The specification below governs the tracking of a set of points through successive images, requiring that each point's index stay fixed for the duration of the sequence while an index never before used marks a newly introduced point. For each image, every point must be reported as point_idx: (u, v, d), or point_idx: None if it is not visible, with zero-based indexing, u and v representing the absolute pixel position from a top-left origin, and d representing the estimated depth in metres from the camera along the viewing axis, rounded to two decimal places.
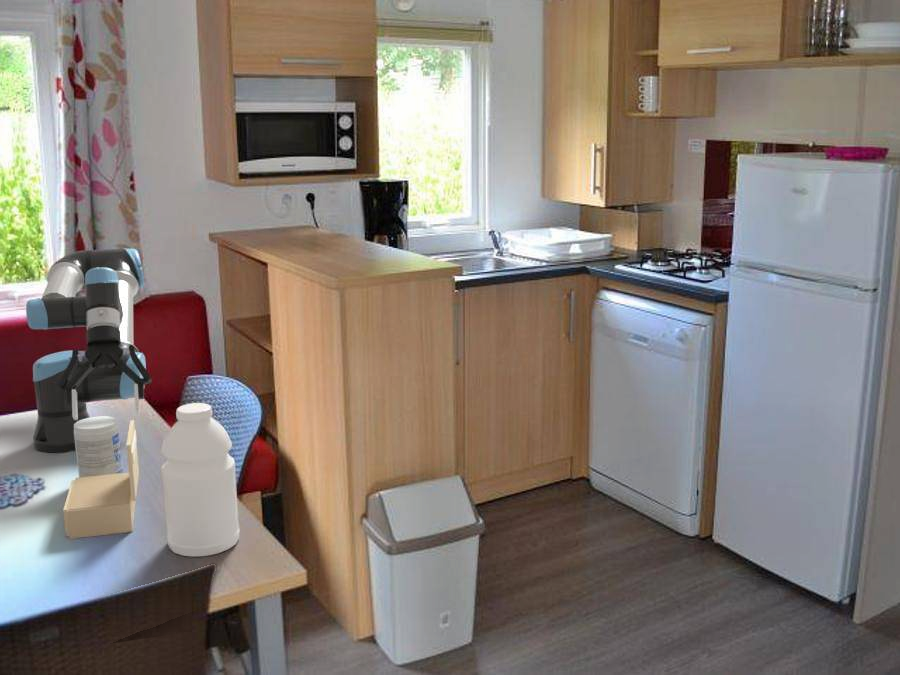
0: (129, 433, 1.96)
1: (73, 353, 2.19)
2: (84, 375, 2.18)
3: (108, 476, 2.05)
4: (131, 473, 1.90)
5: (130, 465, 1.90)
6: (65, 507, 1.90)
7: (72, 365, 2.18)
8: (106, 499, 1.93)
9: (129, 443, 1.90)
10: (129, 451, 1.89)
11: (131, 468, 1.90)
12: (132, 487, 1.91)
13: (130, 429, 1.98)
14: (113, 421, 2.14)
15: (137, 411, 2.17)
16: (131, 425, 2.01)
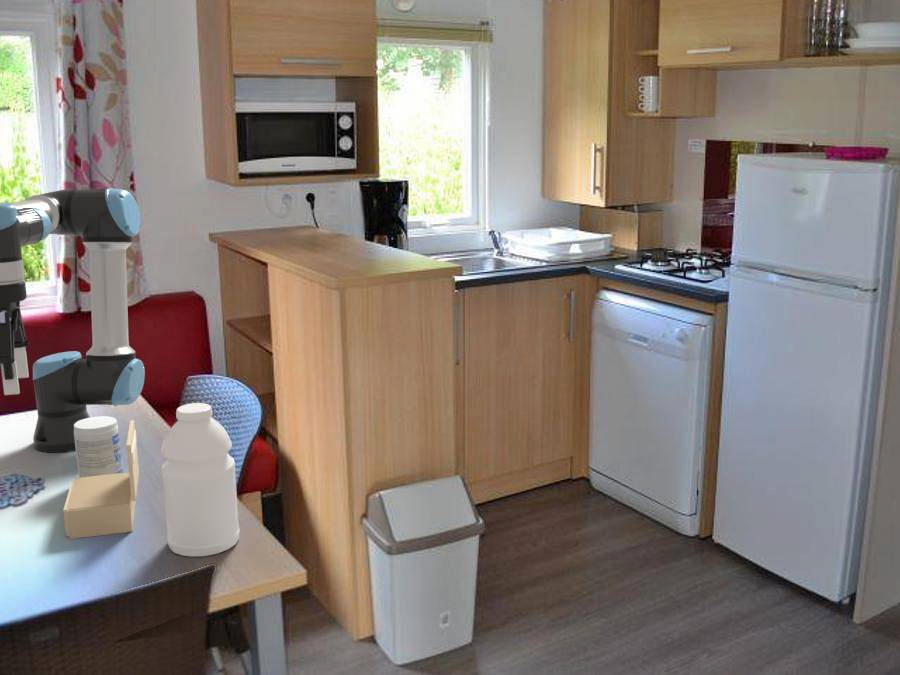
0: (129, 433, 1.96)
1: None
2: None
3: (108, 476, 2.05)
4: (131, 473, 1.90)
5: (130, 465, 1.90)
6: (65, 507, 1.90)
7: None
8: (106, 499, 1.93)
9: (129, 443, 1.90)
10: (129, 451, 1.89)
11: (131, 468, 1.90)
12: (132, 487, 1.91)
13: (130, 429, 1.98)
14: (113, 421, 2.14)
15: None
16: (131, 425, 2.01)
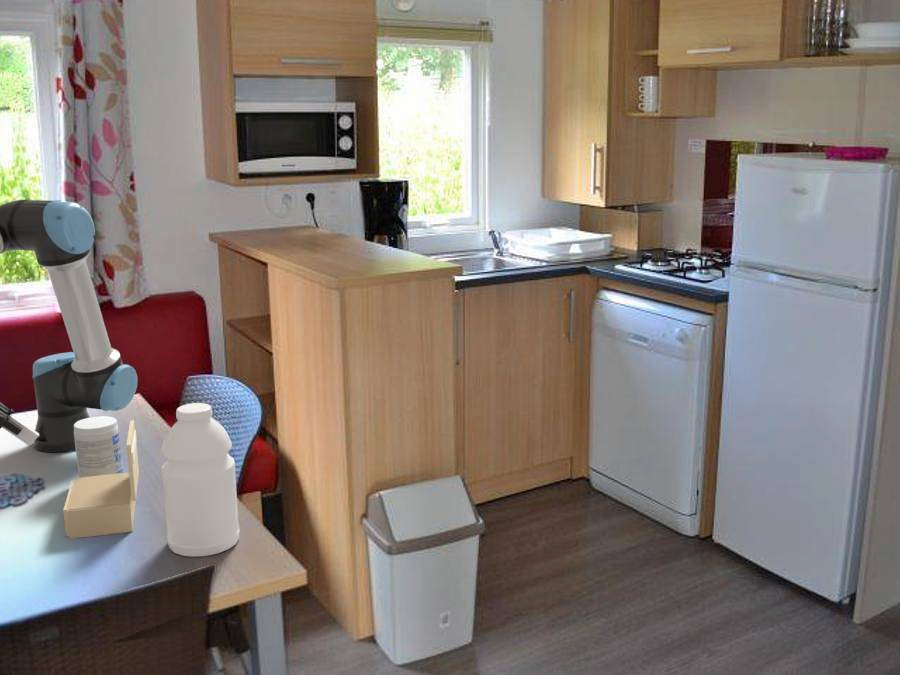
0: (129, 433, 1.96)
1: None
2: None
3: (108, 476, 2.05)
4: (131, 473, 1.90)
5: (130, 465, 1.90)
6: (65, 507, 1.90)
7: None
8: (106, 499, 1.93)
9: (129, 443, 1.90)
10: (129, 451, 1.89)
11: (131, 468, 1.90)
12: (132, 487, 1.91)
13: (130, 429, 1.98)
14: (113, 421, 2.14)
15: (32, 442, 1.90)
16: (131, 425, 2.01)
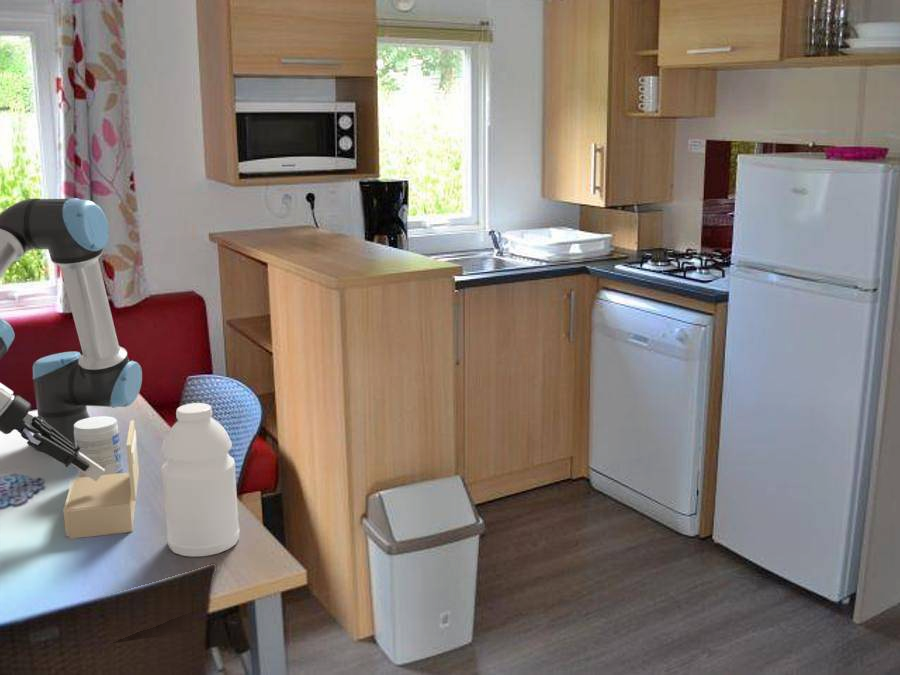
0: (129, 433, 1.96)
1: None
2: None
3: (108, 476, 2.05)
4: (131, 473, 1.90)
5: (130, 465, 1.90)
6: (65, 507, 1.90)
7: None
8: (106, 499, 1.93)
9: (129, 443, 1.90)
10: (129, 451, 1.89)
11: (131, 468, 1.90)
12: (132, 487, 1.91)
13: (130, 429, 1.98)
14: (113, 421, 2.14)
15: None
16: (131, 425, 2.01)
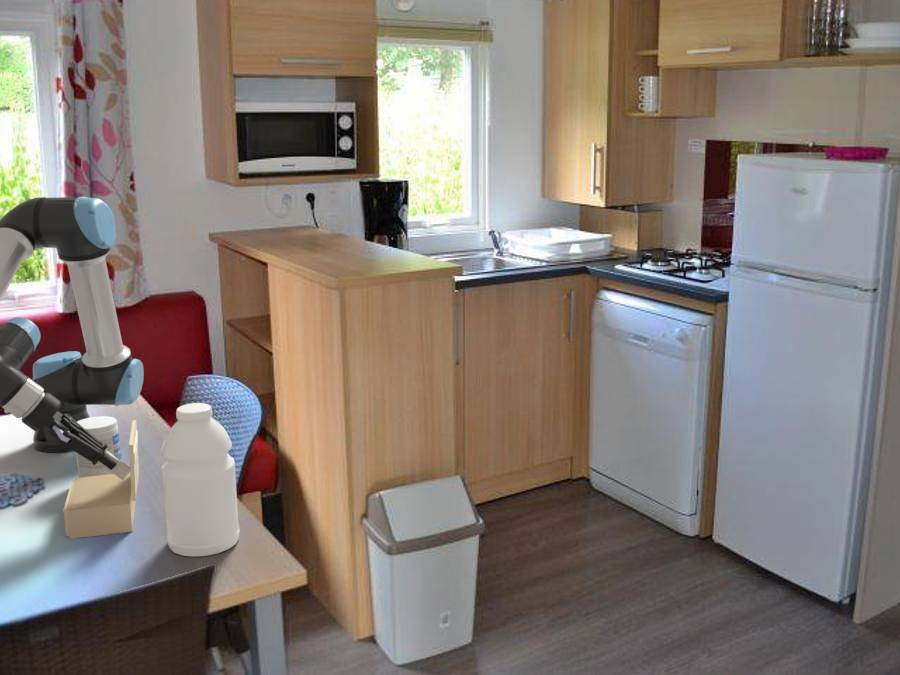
0: (132, 432, 1.96)
1: None
2: None
3: (108, 476, 2.05)
4: (132, 473, 1.91)
5: (132, 465, 1.90)
6: (65, 507, 1.90)
7: None
8: (106, 499, 1.93)
9: (131, 443, 1.90)
10: (131, 451, 1.89)
11: (132, 468, 1.90)
12: (133, 487, 1.91)
13: (132, 429, 1.98)
14: (113, 421, 2.14)
15: None
16: (133, 425, 2.01)
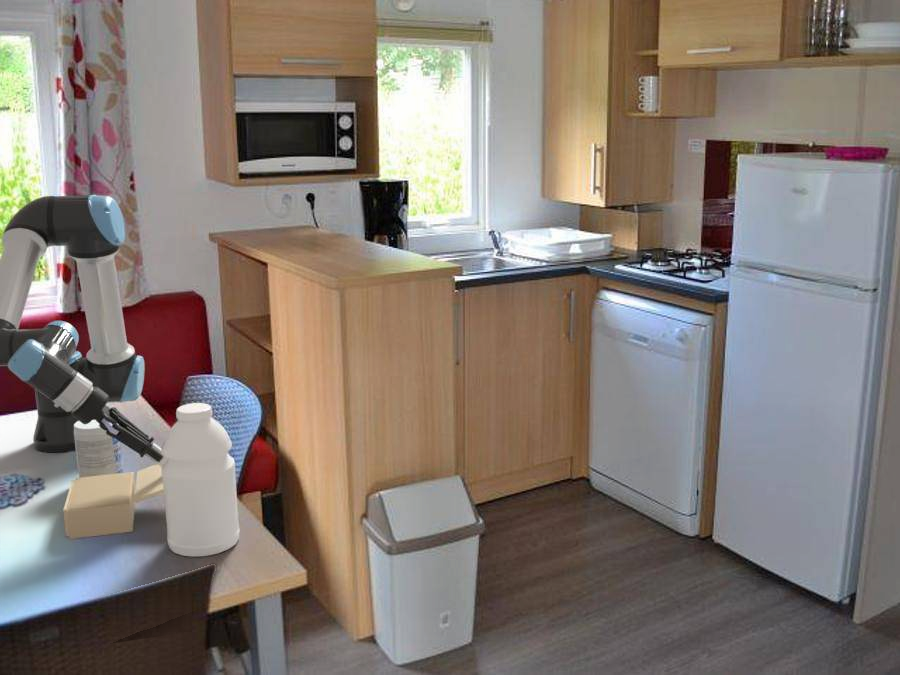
0: None
1: None
2: None
3: (108, 476, 2.05)
4: (163, 491, 1.93)
5: None
6: (65, 507, 1.90)
7: None
8: (106, 499, 1.93)
9: None
10: None
11: None
12: (149, 496, 1.93)
13: None
14: None
15: None
16: None
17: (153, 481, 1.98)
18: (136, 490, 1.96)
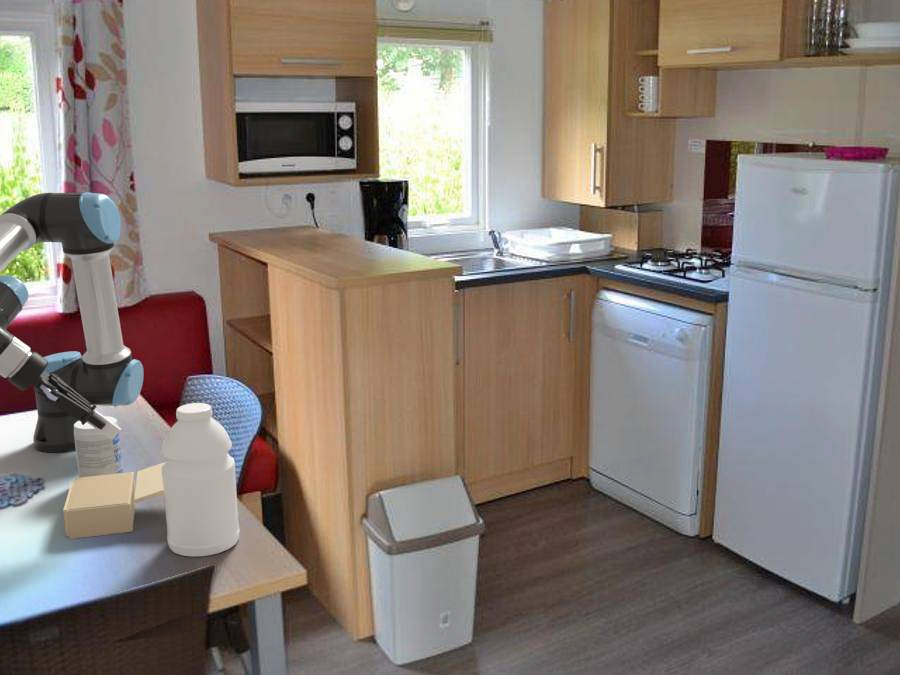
0: None
1: None
2: None
3: (108, 476, 2.05)
4: None
5: None
6: (65, 507, 1.90)
7: None
8: (106, 499, 1.93)
9: None
10: None
11: None
12: (149, 496, 1.93)
13: None
14: (113, 421, 2.14)
15: None
16: None
17: (154, 482, 1.98)
18: (136, 490, 1.96)
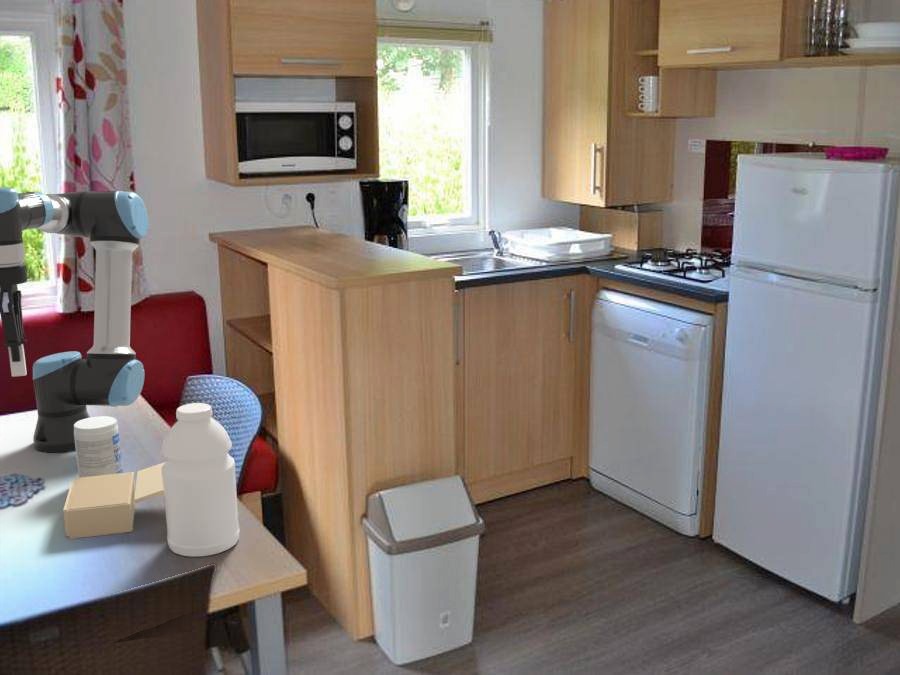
0: None
1: None
2: None
3: (108, 476, 2.05)
4: None
5: None
6: (65, 507, 1.90)
7: None
8: (106, 499, 1.93)
9: None
10: None
11: None
12: (149, 496, 1.93)
13: None
14: (113, 421, 2.14)
15: None
16: None
17: (154, 482, 1.98)
18: (136, 490, 1.96)
